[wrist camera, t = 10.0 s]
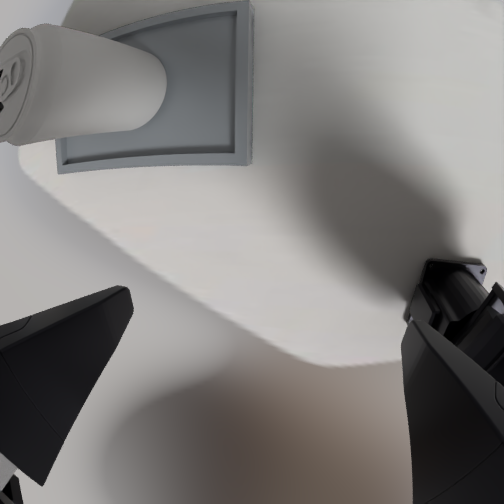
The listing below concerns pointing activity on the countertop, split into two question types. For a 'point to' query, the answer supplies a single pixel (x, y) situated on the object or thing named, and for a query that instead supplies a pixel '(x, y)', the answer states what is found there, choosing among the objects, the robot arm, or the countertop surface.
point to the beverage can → (74, 85)
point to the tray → (183, 95)
